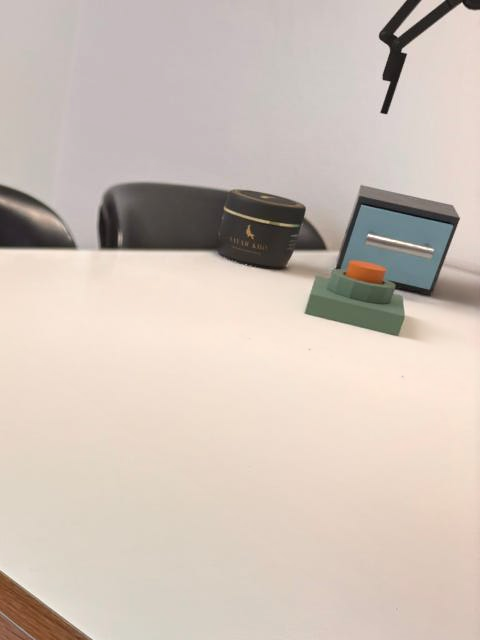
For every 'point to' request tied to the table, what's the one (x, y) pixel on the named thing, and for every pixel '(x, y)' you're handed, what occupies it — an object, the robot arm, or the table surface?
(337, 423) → the table surface
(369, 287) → the panel
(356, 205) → the drawer cabinet
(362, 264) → the button
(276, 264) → the jar
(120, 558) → the table surface
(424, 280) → the drawer
